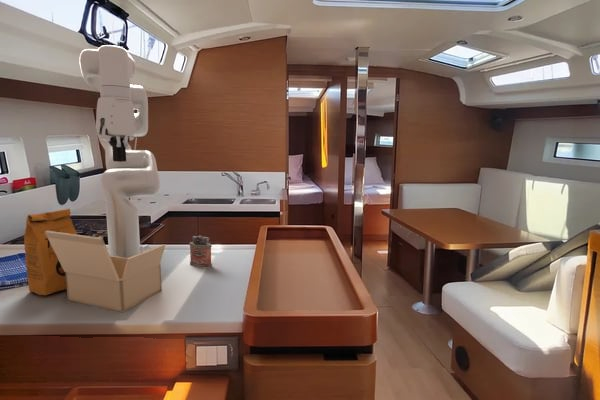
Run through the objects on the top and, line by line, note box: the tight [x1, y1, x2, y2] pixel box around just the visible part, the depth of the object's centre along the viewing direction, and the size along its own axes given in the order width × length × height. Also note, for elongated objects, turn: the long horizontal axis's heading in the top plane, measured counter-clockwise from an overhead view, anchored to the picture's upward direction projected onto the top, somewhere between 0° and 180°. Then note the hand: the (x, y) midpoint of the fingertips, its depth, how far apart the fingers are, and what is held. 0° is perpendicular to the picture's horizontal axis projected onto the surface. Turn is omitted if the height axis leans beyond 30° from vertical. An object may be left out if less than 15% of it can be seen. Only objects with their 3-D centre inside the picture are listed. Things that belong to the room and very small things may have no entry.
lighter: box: [188, 235, 213, 268], centre depth 126 cm, size 8×3×10 cm, turn 68°
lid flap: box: [45, 231, 120, 281], centre depth 91 cm, size 12×17×1 cm
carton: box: [65, 235, 166, 313], centre depth 100 cm, size 14×22×14 cm, turn 71°
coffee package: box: [23, 208, 78, 296], centre depth 104 cm, size 10×12×22 cm
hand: (119, 161), depth 107 cm, fingers closed
